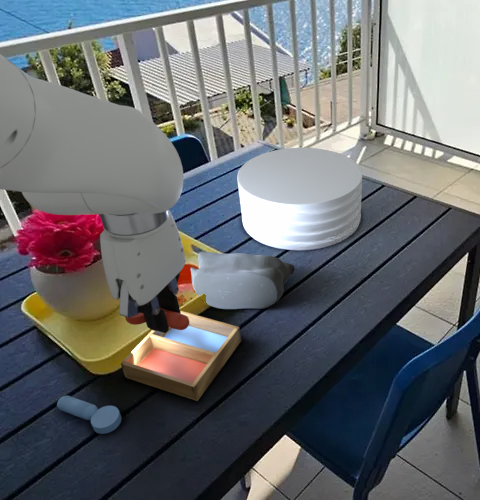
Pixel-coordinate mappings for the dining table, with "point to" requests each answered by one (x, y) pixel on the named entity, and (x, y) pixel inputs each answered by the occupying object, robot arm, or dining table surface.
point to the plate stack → (300, 198)
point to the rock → (240, 279)
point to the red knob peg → (173, 318)
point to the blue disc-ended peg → (92, 413)
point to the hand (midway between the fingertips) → (164, 321)
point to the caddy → (183, 356)
